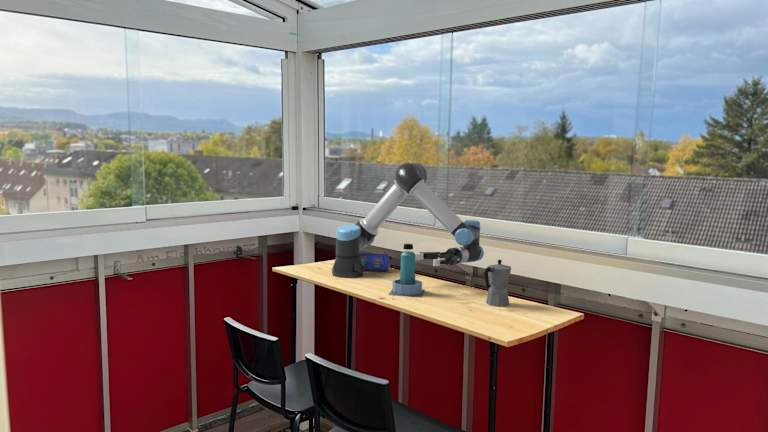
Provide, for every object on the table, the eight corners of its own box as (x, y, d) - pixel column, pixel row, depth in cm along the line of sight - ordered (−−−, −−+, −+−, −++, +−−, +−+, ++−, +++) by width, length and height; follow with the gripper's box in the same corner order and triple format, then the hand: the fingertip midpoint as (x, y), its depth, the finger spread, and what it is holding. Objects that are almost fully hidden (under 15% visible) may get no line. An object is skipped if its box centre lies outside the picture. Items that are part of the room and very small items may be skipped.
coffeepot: (498, 298, 238) (501, 256, 236) (517, 303, 231) (519, 260, 229) (473, 304, 228) (475, 259, 226) (492, 309, 221) (494, 263, 219)
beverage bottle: (413, 292, 240) (415, 245, 238) (398, 291, 241) (399, 244, 239) (416, 289, 246) (417, 243, 244) (400, 287, 248) (402, 242, 246)
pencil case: (391, 270, 291) (392, 251, 290) (389, 273, 282) (390, 254, 281) (348, 267, 293) (349, 249, 292) (345, 271, 285) (346, 252, 284)
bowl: (390, 294, 239) (390, 284, 238) (395, 287, 251) (395, 278, 251) (419, 296, 237) (420, 286, 236) (423, 289, 249) (423, 279, 248)
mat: (388, 295, 238) (388, 294, 238) (393, 287, 252) (393, 287, 252) (421, 298, 236) (421, 297, 236) (425, 290, 250) (425, 289, 250)
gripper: (476, 268, 252) (443, 274, 239) (436, 259, 271) (403, 263, 258) (477, 251, 252) (443, 256, 238) (437, 243, 271) (404, 247, 257)
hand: (422, 260), depth 248 cm, fingers open, 13 cm apart
